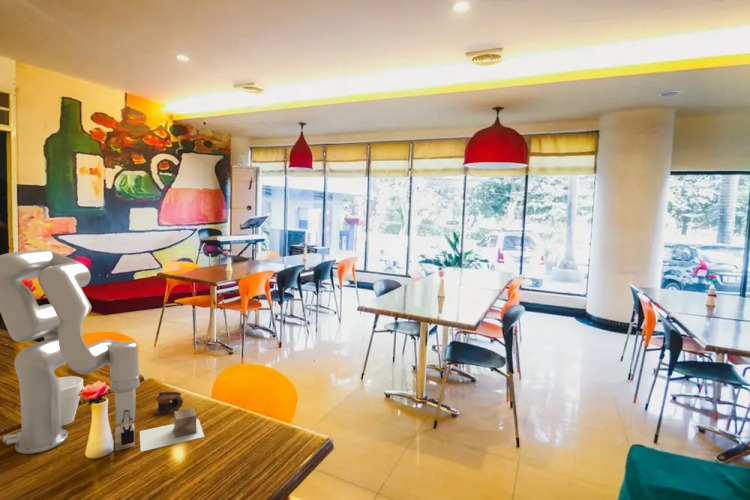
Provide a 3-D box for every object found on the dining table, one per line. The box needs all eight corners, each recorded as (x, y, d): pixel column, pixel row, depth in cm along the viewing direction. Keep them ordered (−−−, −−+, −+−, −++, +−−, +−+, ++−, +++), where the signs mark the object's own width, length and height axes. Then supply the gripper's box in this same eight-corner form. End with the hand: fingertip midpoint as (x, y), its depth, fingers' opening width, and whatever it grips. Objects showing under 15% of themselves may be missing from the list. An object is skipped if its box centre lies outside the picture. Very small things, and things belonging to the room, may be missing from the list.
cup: (59, 434, 131) (58, 393, 129) (28, 428, 133) (27, 388, 132) (92, 416, 143) (92, 378, 141) (64, 410, 145) (63, 374, 144)
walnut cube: (176, 437, 130) (176, 419, 129) (174, 428, 135) (174, 411, 134) (196, 432, 133) (196, 415, 133) (193, 424, 138) (193, 407, 138)
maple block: (115, 453, 122) (115, 434, 121) (115, 445, 126) (115, 426, 125) (134, 448, 124) (134, 430, 124) (134, 440, 129) (134, 422, 128)
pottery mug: (146, 416, 145) (151, 392, 148) (167, 417, 153) (171, 394, 156) (171, 414, 141) (175, 389, 144) (192, 415, 149) (195, 392, 152)
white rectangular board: (140, 454, 122) (140, 451, 122) (139, 433, 133) (139, 430, 133) (204, 438, 131) (204, 436, 131) (198, 420, 142) (198, 418, 142)
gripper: (111, 375, 129) (114, 426, 130) (109, 396, 114) (112, 453, 116) (138, 370, 133) (141, 420, 134) (140, 390, 118) (142, 446, 119)
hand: (127, 435), depth 125 cm, fingers open, 9 cm apart
